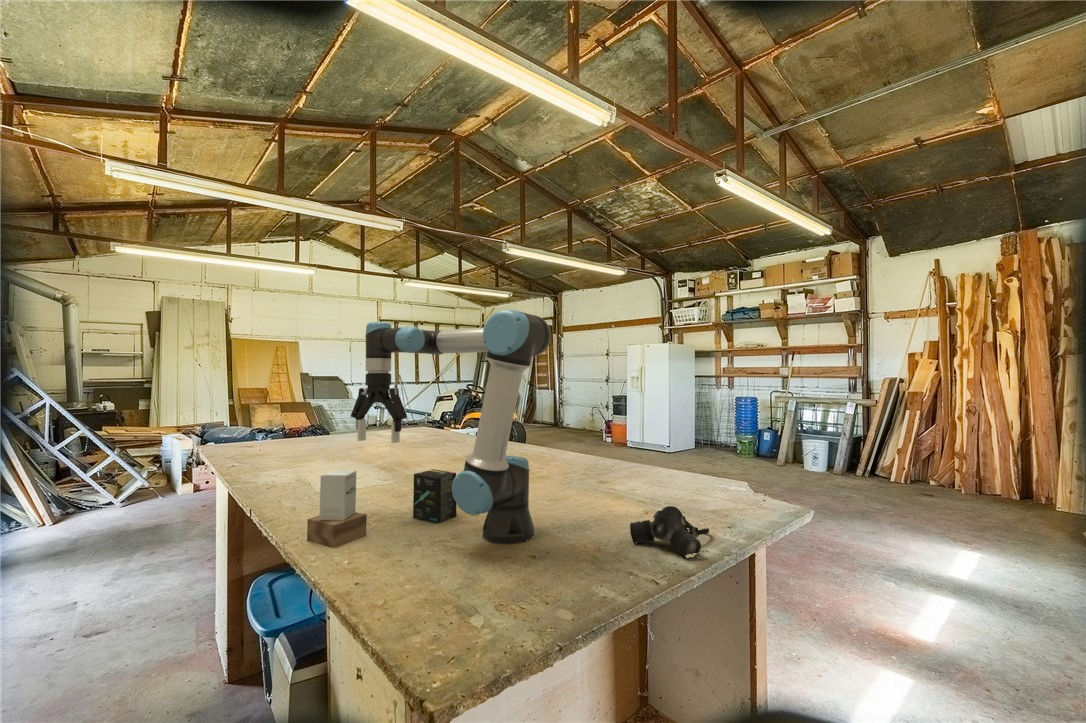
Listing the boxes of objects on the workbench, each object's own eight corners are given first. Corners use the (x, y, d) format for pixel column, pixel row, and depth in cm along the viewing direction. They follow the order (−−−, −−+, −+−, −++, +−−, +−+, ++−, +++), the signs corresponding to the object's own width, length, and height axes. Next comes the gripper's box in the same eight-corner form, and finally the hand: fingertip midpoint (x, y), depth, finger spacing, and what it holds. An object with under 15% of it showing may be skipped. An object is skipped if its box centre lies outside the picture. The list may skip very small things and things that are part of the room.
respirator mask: (620, 534, 129) (639, 487, 136) (651, 566, 141) (666, 521, 148) (689, 554, 115) (705, 500, 123) (716, 587, 127) (729, 536, 134)
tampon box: (457, 516, 153) (457, 472, 153) (436, 524, 145) (437, 477, 146) (433, 511, 159) (433, 468, 159) (412, 518, 151) (413, 473, 152)
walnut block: (366, 535, 135) (366, 514, 135) (333, 547, 125) (334, 525, 125) (340, 529, 140) (340, 509, 140) (307, 540, 130) (307, 519, 130)
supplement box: (344, 521, 129) (345, 475, 129) (318, 520, 129) (319, 474, 130) (356, 513, 136) (357, 469, 137) (331, 512, 137) (332, 469, 137)
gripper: (418, 372, 142) (418, 441, 141) (357, 373, 152) (357, 438, 151) (401, 371, 135) (401, 445, 134) (339, 372, 145) (338, 441, 144)
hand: (378, 441), depth 143 cm, fingers open, 13 cm apart
